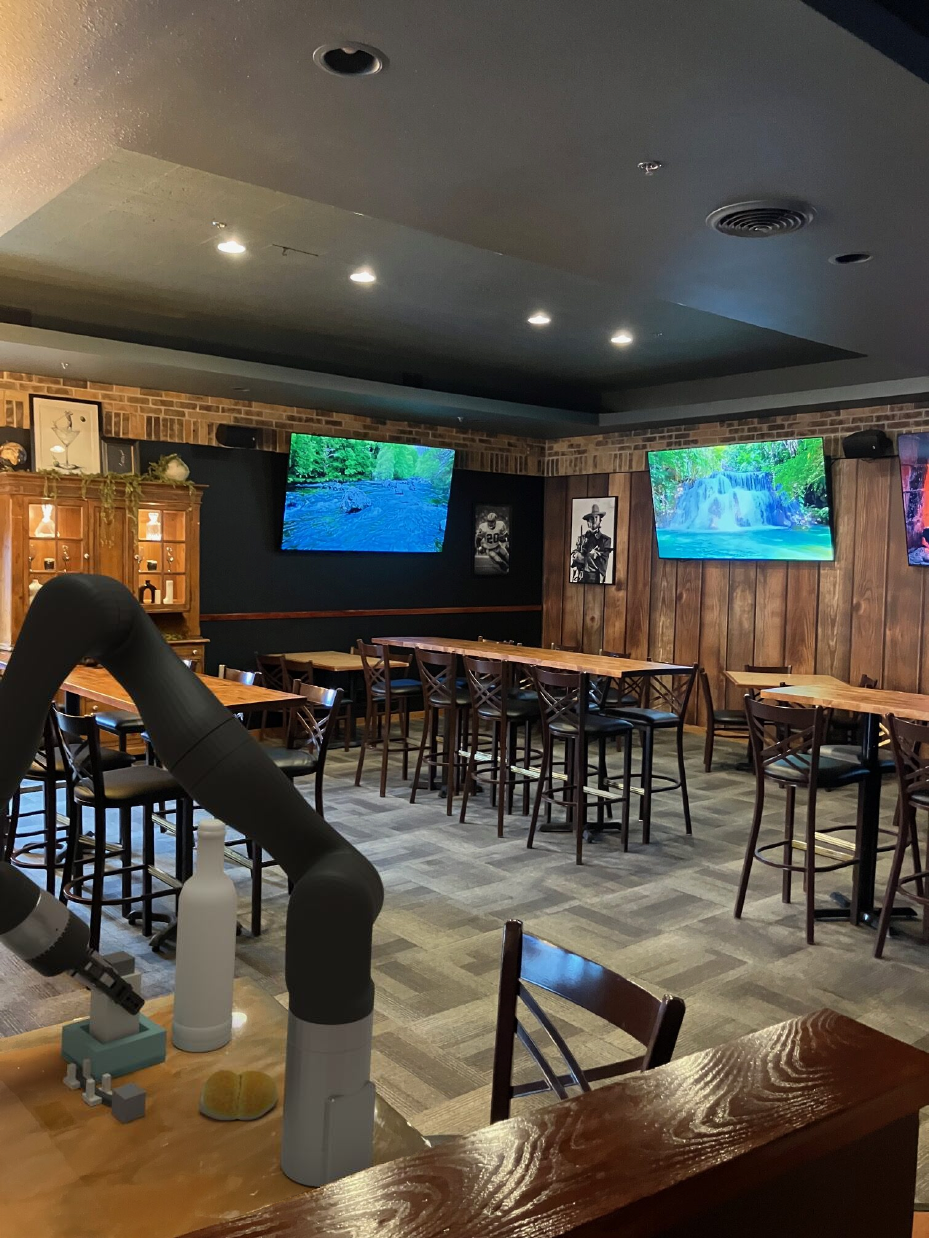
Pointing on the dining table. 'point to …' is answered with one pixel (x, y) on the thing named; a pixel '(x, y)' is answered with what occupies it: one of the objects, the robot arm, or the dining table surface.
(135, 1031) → the block
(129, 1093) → the cable run
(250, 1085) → the bread roll
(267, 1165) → the dining table surface
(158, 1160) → the dining table surface
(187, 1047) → the bottle
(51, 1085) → the dining table surface
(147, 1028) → the end socket
